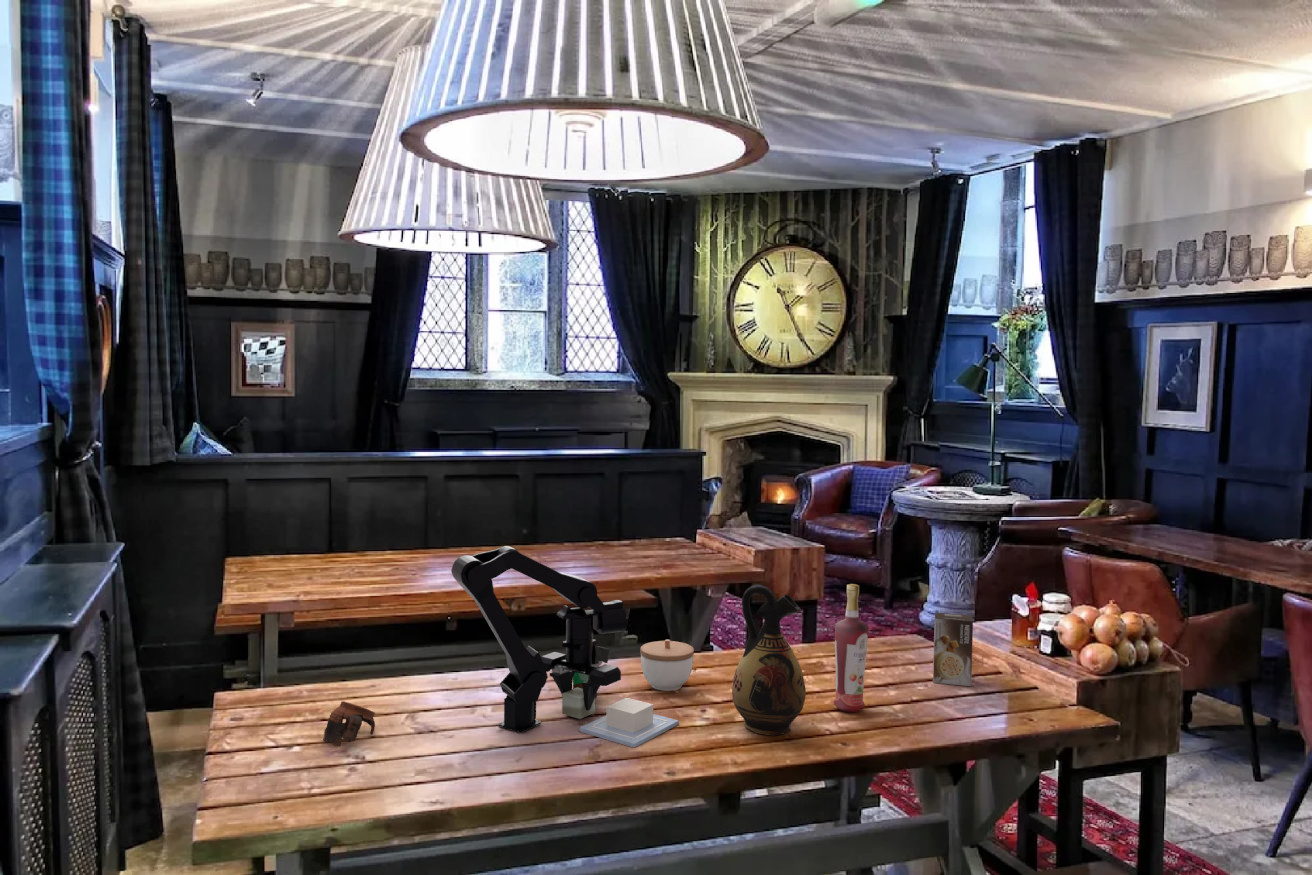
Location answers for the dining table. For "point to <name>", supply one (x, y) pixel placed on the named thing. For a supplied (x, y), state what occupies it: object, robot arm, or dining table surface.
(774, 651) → the ceramic jug
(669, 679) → the lidded bowl
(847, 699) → the liquor
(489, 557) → the robot arm
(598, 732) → the blueprint board
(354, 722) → the brown bent piece
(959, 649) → the coffee box
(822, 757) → the dining table surface
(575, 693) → the sage block
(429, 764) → the dining table surface
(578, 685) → the food container
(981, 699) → the dining table surface
